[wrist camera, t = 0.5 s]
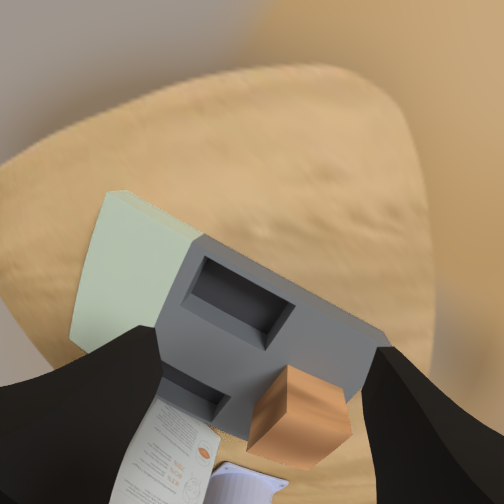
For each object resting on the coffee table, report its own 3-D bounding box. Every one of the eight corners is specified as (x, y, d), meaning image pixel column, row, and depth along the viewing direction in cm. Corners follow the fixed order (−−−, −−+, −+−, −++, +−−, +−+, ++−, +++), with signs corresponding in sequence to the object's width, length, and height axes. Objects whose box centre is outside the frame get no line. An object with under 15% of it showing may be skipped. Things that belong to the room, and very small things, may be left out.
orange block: (305, 425, 18) (307, 470, 14) (254, 405, 18) (246, 451, 14) (342, 388, 17) (352, 434, 13) (287, 364, 17) (286, 412, 13)
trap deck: (289, 435, 22) (289, 455, 20) (84, 326, 22) (69, 338, 19) (383, 331, 19) (393, 349, 16) (126, 190, 18) (107, 191, 16)
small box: (125, 399, 23) (61, 492, 11) (166, 382, 22) (98, 499, 9) (178, 449, 24) (139, 543, 12) (223, 437, 23) (192, 551, 10)
